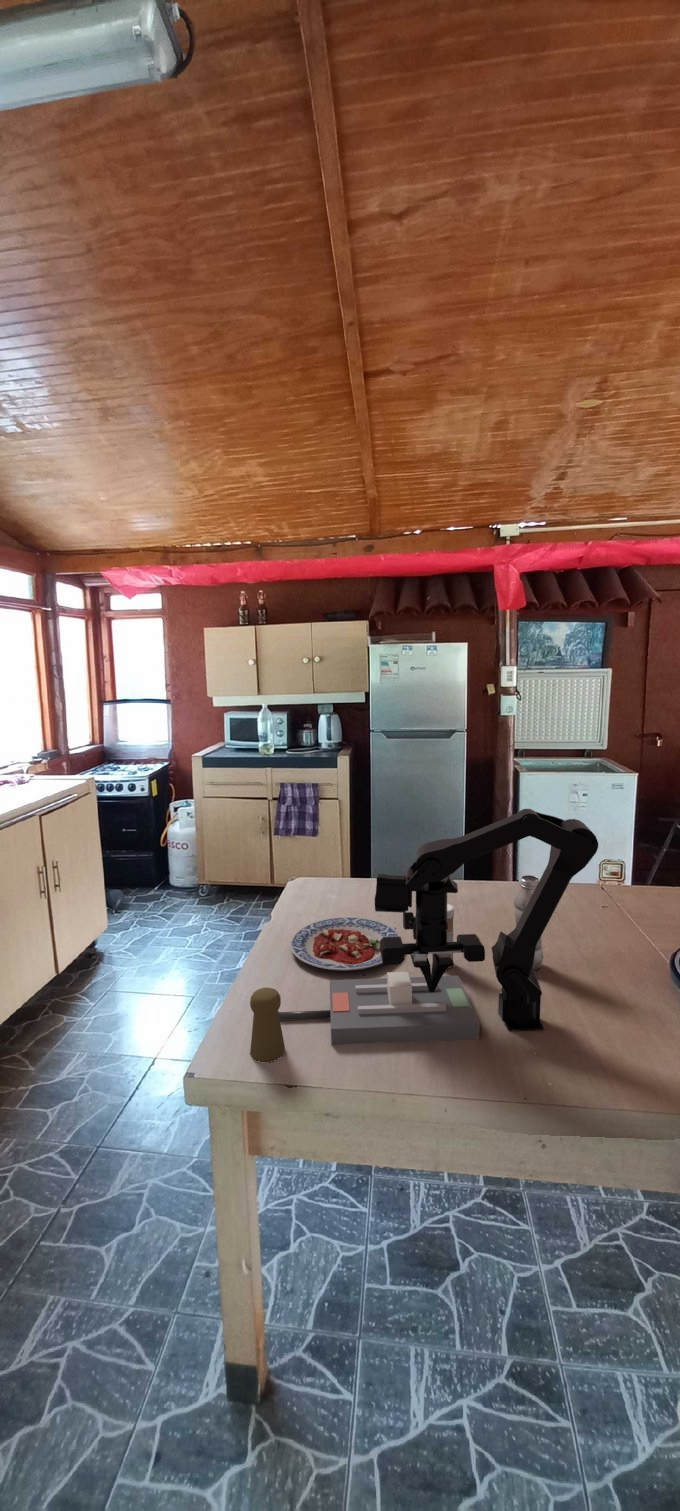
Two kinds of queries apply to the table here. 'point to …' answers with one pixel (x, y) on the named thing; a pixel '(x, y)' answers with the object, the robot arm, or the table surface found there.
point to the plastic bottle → (520, 904)
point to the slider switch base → (395, 1012)
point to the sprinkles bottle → (450, 924)
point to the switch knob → (399, 988)
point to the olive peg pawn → (266, 1026)
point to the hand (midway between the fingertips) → (431, 991)
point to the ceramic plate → (341, 943)
